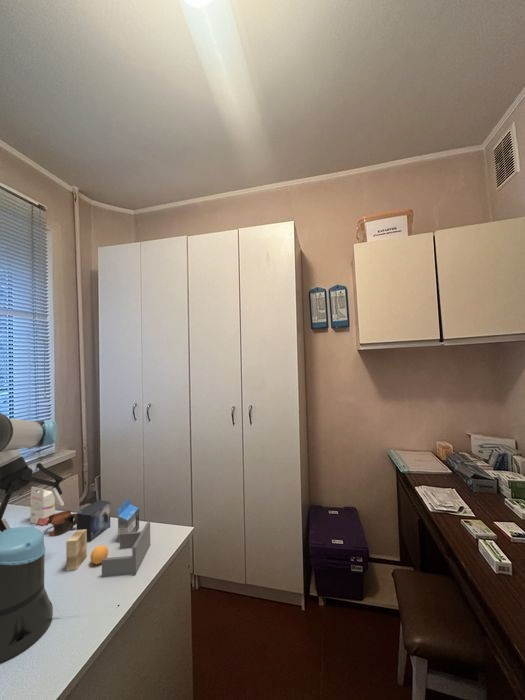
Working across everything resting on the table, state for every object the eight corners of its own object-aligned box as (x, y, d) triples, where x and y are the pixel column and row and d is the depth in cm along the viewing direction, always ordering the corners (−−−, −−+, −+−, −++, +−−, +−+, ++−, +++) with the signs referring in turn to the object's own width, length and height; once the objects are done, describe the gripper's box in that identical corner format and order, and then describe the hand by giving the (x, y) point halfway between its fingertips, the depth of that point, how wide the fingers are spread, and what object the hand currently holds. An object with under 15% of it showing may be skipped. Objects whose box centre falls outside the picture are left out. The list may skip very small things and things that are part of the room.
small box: (90, 544, 103) (90, 514, 103) (75, 542, 104) (75, 513, 104) (111, 527, 113) (111, 500, 114) (97, 526, 114) (97, 499, 115)
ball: (103, 567, 90) (103, 551, 90) (87, 568, 90) (87, 552, 90) (110, 556, 95) (110, 541, 95) (95, 557, 95) (95, 542, 95)
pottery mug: (39, 542, 106) (40, 518, 109) (55, 539, 114) (55, 517, 118) (73, 530, 108) (73, 506, 111) (86, 528, 116) (86, 506, 120)
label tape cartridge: (127, 544, 102) (127, 509, 103) (117, 544, 102) (117, 509, 103) (139, 529, 111) (139, 497, 112) (129, 529, 111) (129, 497, 112)
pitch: (135, 577, 86) (135, 548, 86) (51, 584, 84) (51, 555, 85) (150, 545, 101) (150, 521, 101) (80, 551, 99) (80, 526, 99)
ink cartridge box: (56, 519, 120) (55, 484, 121) (43, 526, 116) (43, 489, 116) (42, 516, 123) (42, 482, 124) (29, 522, 119) (29, 486, 119)
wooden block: (76, 569, 89) (76, 540, 89) (66, 570, 89) (66, 541, 89) (86, 556, 95) (86, 529, 95) (77, 557, 95) (77, 530, 95)
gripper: (47, 441, 102) (75, 493, 103) (-50, 489, 81) (-14, 553, 83) (54, 439, 97) (83, 493, 99) (-46, 489, 77) (-9, 556, 79)
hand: (39, 520), depth 91 cm, fingers open, 13 cm apart
